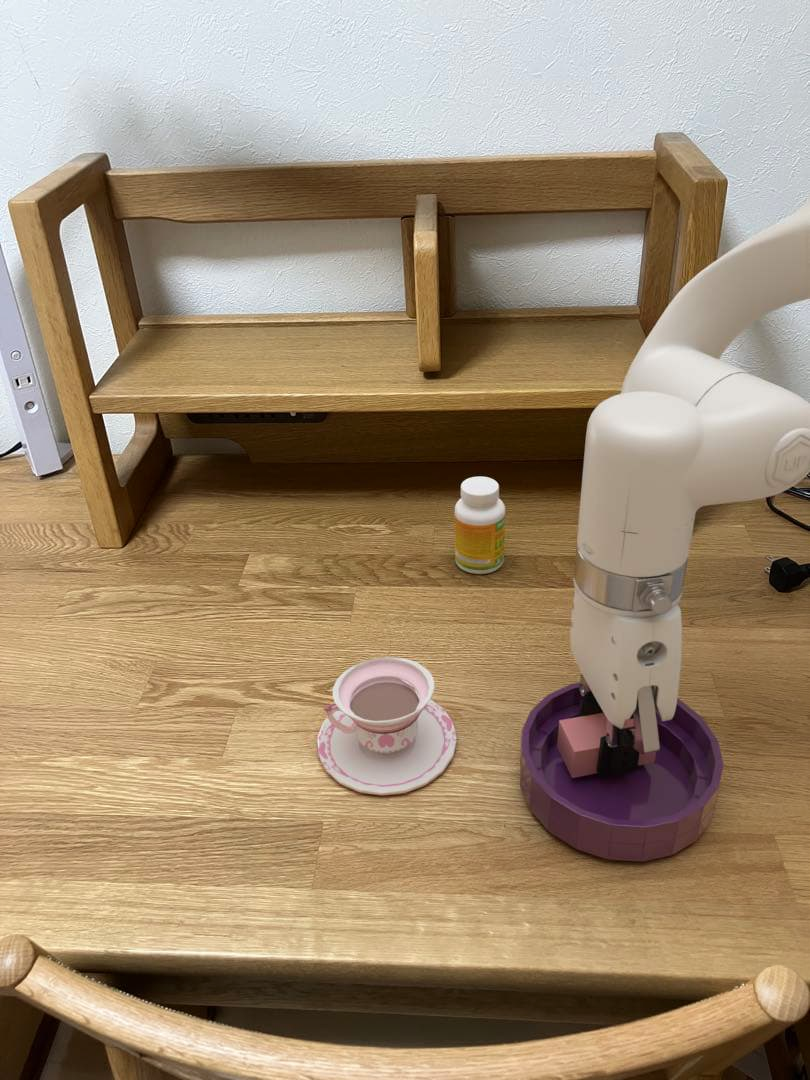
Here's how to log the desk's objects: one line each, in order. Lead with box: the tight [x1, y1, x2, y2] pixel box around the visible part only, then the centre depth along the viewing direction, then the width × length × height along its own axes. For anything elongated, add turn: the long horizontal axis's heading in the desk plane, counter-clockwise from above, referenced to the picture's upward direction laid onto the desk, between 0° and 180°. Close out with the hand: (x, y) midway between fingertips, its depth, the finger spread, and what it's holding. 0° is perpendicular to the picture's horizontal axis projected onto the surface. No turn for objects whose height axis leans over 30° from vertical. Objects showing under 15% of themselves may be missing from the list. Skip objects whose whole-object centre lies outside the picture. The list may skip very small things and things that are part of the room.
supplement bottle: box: [454, 476, 506, 575], centre depth 96 cm, size 5×5×10 cm
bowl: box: [519, 681, 724, 862], centre depth 71 cm, size 15×15×4 cm
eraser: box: [557, 713, 656, 778], centre depth 72 cm, size 7×4×3 cm, turn 102°
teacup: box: [316, 656, 458, 796], centre depth 75 cm, size 12×12×6 cm
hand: (606, 750), depth 73 cm, fingers closed on eraser, 3 cm apart
